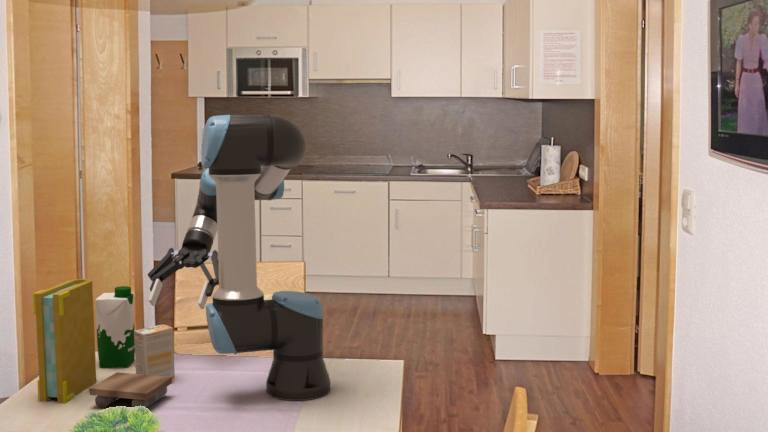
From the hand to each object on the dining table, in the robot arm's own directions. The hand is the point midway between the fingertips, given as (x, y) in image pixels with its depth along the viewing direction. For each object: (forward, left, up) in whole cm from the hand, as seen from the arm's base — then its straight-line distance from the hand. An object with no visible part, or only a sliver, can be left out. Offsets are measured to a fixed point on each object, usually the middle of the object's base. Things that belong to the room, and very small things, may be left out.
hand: (176, 304), depth 234 cm
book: (+16, +23, -16) cm, 33 cm away
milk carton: (+16, +2, -16) cm, 23 cm away
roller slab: (-2, +27, -16) cm, 32 cm away
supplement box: (0, +12, -16) cm, 20 cm away
